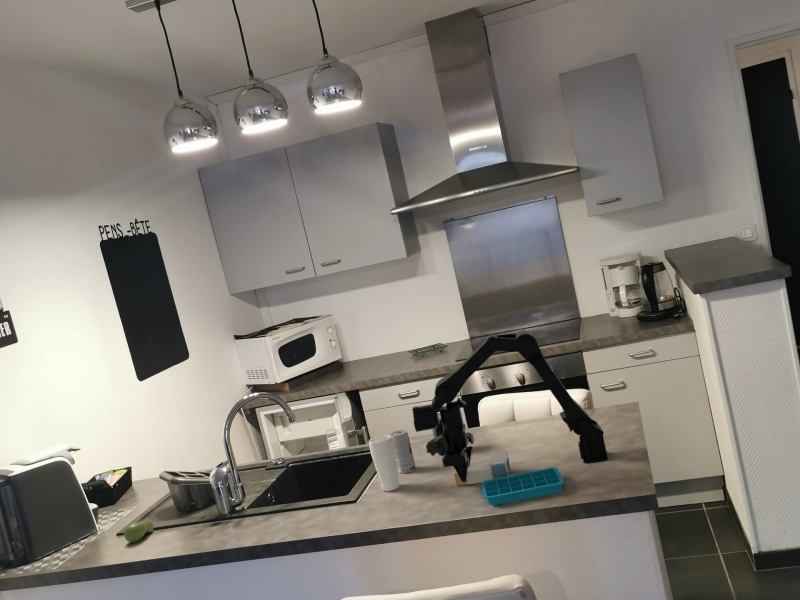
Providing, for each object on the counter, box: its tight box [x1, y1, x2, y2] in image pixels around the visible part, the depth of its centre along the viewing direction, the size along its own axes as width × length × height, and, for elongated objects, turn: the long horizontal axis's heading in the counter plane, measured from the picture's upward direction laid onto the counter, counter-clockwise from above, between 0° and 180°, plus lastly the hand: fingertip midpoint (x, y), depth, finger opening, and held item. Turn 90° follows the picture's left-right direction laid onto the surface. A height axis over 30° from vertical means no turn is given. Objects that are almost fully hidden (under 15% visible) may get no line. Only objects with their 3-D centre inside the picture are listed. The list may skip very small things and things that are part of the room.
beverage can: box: [431, 413, 451, 457], centre depth 224 cm, size 7×7×12 cm
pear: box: [123, 520, 154, 544], centre depth 211 cm, size 6×5×10 cm
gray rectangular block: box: [489, 450, 512, 479], centre depth 193 cm, size 4×9×6 cm, turn 167°
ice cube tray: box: [480, 466, 565, 506], centre depth 180 cm, size 12×20×3 cm, turn 87°
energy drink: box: [390, 429, 416, 475], centre depth 216 cm, size 5×5×12 cm
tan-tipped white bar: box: [453, 463, 493, 487], centre depth 195 cm, size 10×4×4 cm, turn 77°
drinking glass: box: [368, 434, 401, 492], centre depth 203 cm, size 7×7×15 cm
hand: (465, 478), depth 196 cm, fingers closed on tan-tipped white bar, 4 cm apart
